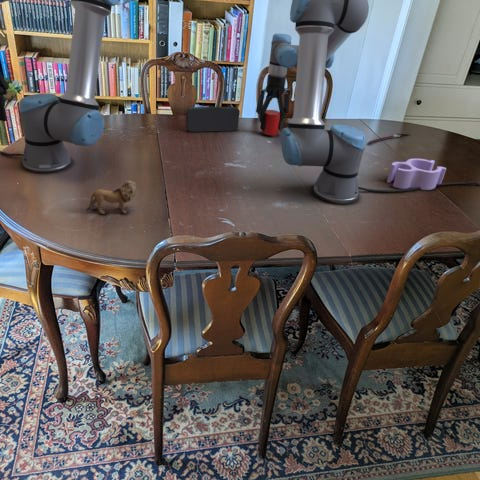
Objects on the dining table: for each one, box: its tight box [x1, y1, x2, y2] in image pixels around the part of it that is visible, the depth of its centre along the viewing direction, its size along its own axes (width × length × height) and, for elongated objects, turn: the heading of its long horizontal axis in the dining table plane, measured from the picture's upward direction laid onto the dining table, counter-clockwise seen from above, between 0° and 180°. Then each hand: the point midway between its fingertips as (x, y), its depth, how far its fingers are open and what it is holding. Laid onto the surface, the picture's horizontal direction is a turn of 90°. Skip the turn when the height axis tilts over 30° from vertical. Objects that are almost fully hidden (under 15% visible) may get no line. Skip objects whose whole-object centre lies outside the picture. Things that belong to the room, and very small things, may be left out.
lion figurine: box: [85, 180, 137, 215], centre depth 135 cm, size 15×5×9 cm, turn 110°
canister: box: [261, 109, 280, 136], centre depth 201 cm, size 7×7×9 cm
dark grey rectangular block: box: [185, 106, 241, 133], centre depth 199 cm, size 23×3×10 cm, turn 108°
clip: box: [386, 157, 447, 191], centre depth 173 cm, size 20×12×7 cm, turn 109°
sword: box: [367, 133, 409, 145], centre depth 213 cm, size 31×3×1 cm, turn 126°
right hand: (270, 129), depth 203 cm, fingers closed on canister, 7 cm apart
